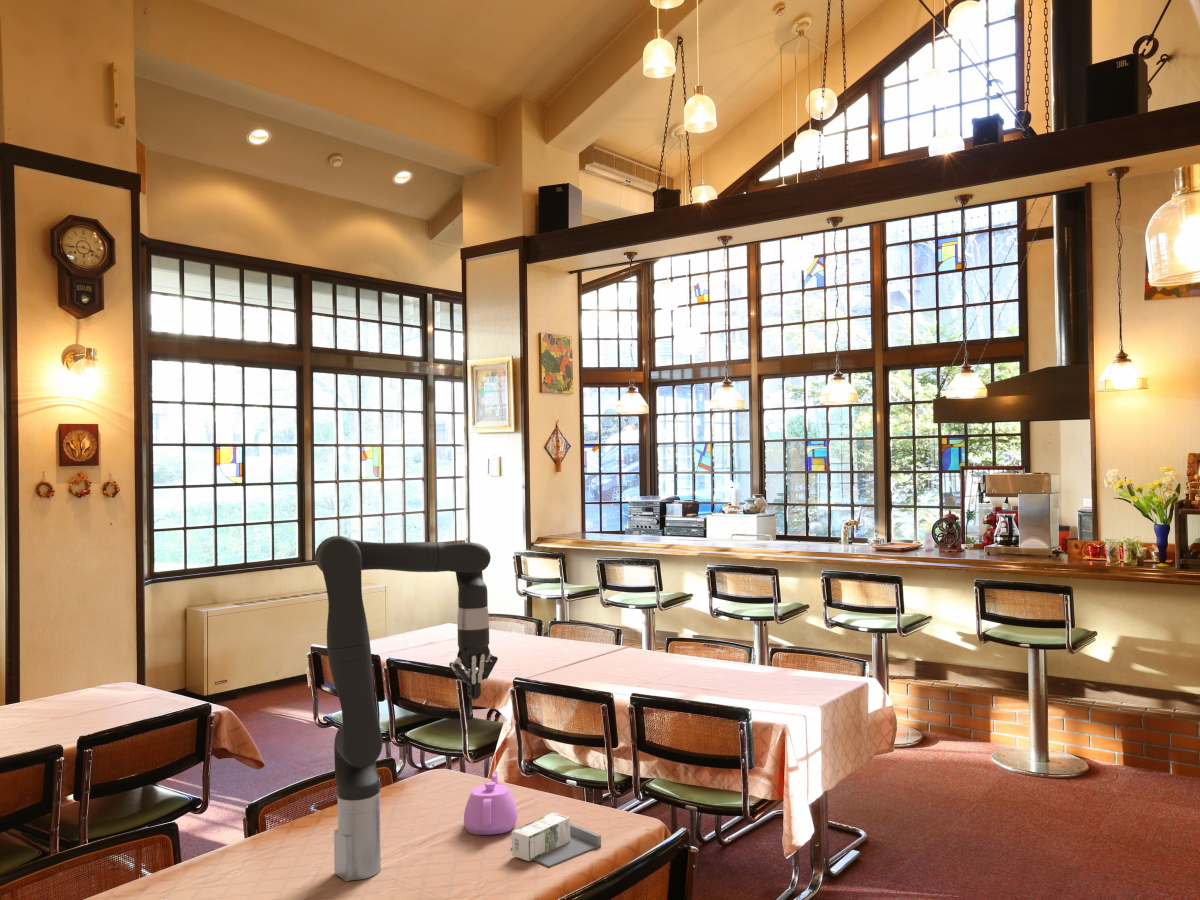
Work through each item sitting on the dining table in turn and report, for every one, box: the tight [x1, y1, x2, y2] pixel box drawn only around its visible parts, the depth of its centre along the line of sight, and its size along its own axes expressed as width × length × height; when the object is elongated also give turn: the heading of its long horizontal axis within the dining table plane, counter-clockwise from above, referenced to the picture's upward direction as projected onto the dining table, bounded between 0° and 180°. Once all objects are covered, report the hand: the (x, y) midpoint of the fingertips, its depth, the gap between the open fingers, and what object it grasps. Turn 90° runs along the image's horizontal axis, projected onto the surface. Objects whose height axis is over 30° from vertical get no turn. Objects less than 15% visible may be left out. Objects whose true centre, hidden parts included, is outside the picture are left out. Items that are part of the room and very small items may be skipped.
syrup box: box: [511, 812, 571, 862], centre depth 202 cm, size 6×6×14 cm
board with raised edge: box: [510, 822, 602, 868], centre depth 203 cm, size 16×14×2 cm
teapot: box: [463, 771, 518, 836], centre depth 217 cm, size 13×20×11 cm
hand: (474, 698), depth 206 cm, fingers closed
